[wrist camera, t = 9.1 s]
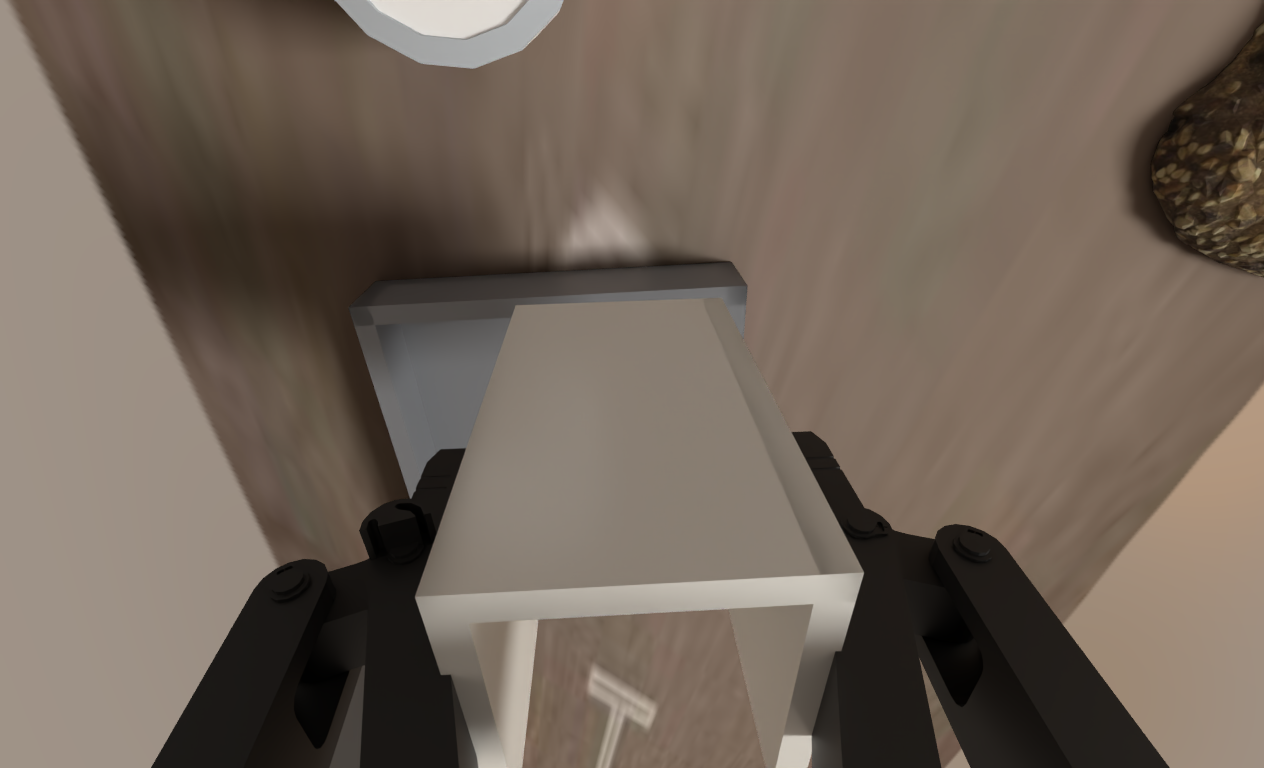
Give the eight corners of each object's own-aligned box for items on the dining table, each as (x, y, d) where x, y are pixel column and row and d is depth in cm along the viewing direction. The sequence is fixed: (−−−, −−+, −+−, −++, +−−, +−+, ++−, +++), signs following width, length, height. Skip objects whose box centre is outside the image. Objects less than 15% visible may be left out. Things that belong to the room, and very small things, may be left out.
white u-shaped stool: (515, 305, 16) (414, 597, 7) (721, 298, 16) (864, 572, 7) (537, 467, 19) (485, 808, 10) (710, 459, 19) (801, 787, 10)
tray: (375, 281, 24) (348, 307, 21) (731, 261, 24) (747, 285, 22) (457, 562, 33) (444, 604, 30) (715, 545, 33) (725, 585, 30)
